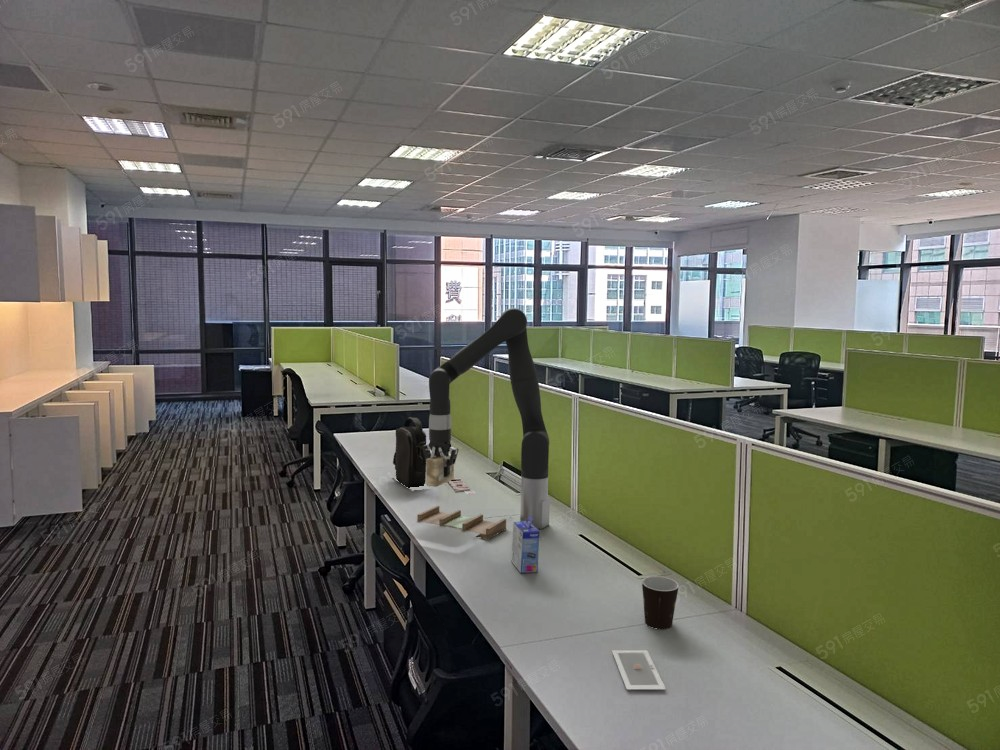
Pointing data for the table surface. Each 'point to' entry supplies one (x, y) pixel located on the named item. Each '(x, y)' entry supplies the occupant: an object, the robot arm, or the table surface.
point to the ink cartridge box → (525, 546)
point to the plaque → (458, 489)
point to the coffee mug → (659, 601)
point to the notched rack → (462, 522)
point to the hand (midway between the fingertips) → (440, 475)
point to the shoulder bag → (410, 454)
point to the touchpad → (637, 669)
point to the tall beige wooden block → (437, 472)
